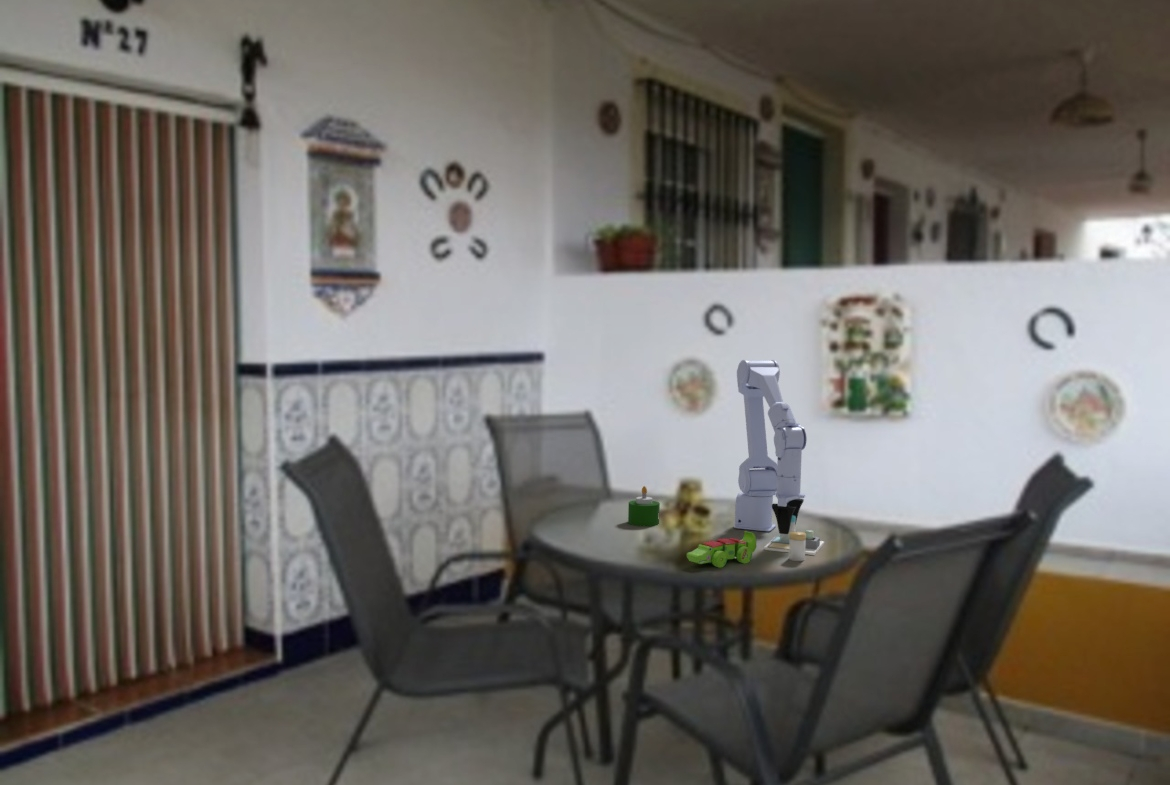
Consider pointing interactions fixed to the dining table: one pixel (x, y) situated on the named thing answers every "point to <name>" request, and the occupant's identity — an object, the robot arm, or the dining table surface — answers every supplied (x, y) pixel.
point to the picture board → (781, 546)
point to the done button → (809, 534)
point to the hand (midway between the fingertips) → (787, 530)
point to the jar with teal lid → (792, 529)
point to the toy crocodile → (724, 550)
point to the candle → (643, 511)
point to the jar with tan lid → (797, 546)
